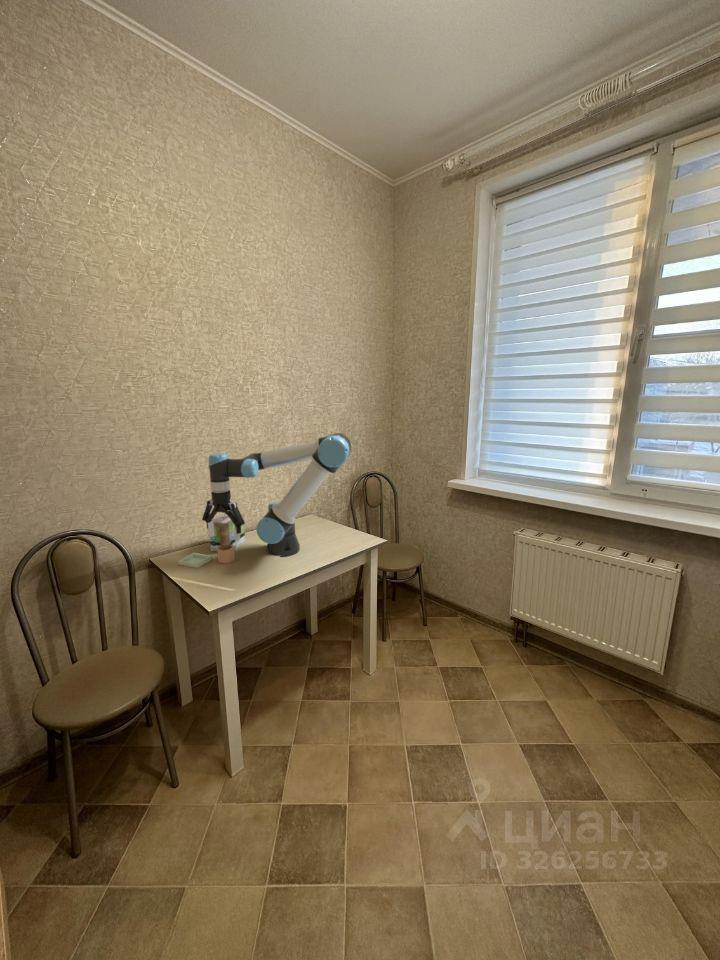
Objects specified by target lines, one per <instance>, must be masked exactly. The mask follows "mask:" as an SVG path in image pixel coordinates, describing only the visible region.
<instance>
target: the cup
mask: <svg viewBox="0 0 720 960" xmlns="http://www.w3.org/2000/svg"><path fill="white" fill-rule="evenodd" d="M216 552H217V560H218V563H221V564H229V563H232V562H233V561H235V560H236V558H235V557H236V556H235V548H234V546H233V545H230V549H227V550H221V546H219V547H218V548H217V551H216Z"/></svg>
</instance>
